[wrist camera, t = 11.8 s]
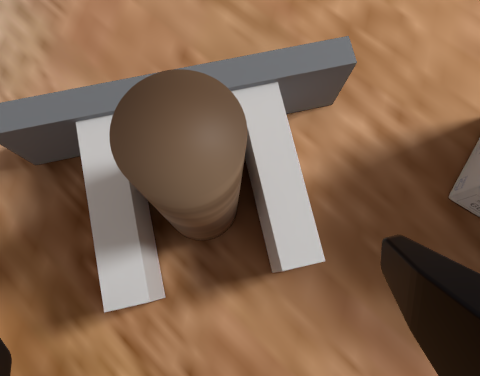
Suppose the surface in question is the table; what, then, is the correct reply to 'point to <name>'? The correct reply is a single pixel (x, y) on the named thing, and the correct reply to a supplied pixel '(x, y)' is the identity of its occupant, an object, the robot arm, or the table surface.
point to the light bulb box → (469, 184)
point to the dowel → (183, 149)
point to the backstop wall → (226, 71)
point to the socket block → (138, 214)
